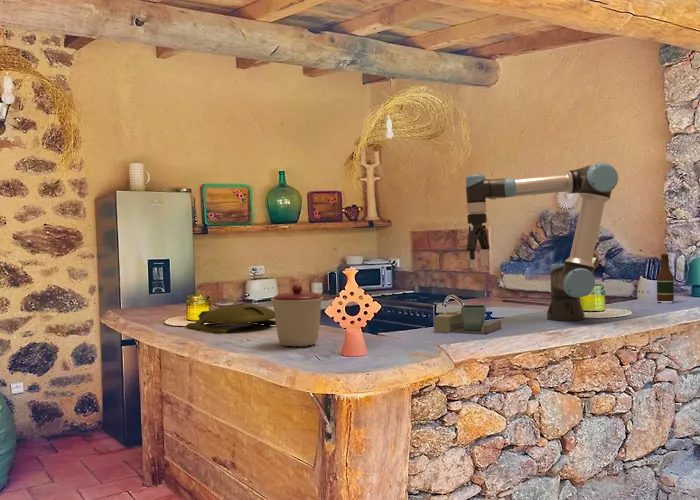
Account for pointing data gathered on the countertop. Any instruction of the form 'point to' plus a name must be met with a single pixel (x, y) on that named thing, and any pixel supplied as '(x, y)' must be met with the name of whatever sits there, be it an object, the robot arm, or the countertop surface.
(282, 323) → the canister
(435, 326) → the olive stepped block
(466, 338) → the countertop surface
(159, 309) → the countertop surface
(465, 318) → the flower pot
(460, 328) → the chute
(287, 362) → the countertop surface
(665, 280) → the beer bottle
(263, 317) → the spaceship
